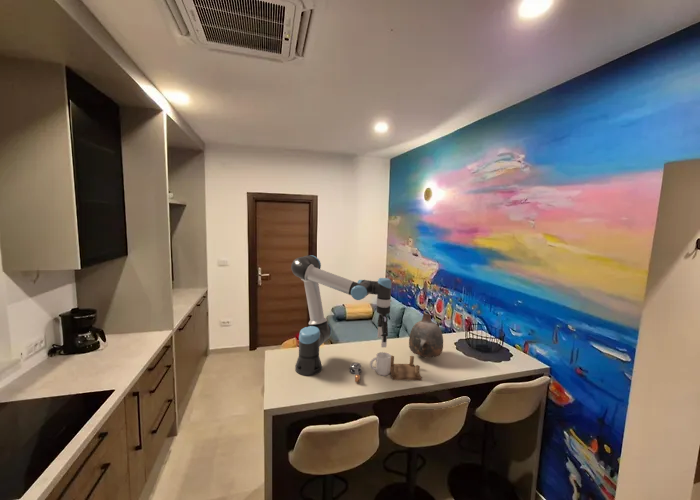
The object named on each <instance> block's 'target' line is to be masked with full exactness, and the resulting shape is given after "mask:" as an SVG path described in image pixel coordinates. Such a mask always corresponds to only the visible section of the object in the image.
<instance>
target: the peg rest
mask: <svg viewBox="0 0 700 500" xmlns="http://www.w3.org/2000/svg"><path fill="white" fill-rule="evenodd" d="M390 355H391V354H390ZM414 361H415V356H414V355H410V356H409V363H395V355H393V354H392V355H391V367H390V374H389V375H390V377H391V378H392V381H422V376H421V374H420V372H421V371H420V369H421V366H420V365H418V364H417V365H415V364H414Z"/></svg>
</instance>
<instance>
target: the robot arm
mask: <svg viewBox="0 0 700 500" xmlns="http://www.w3.org/2000/svg"><path fill="white" fill-rule="evenodd" d="M321 268H322V263H321V260H320V258H318V257H317V256H315V255H304V256H300V257H297V258H294V260H293V261H292V263H291V267H290V270H291V271H292V274H293V275H294V276H295V277H297V278H299V279H300V280H301V281H302V282H303V284H304V285H303V286H304V290H305V295H306V303H307V308H308V314H309V321H308V326H305V327H303V328H301V329H300V330H299V335H298V357H297V360H296V363H295V367H294V370H295V372H296V373H297V374H299V375H302V376H314V375H317V374H319V373H320V372H321V371H322V367H323V365H322V364H323V363H322V361H321V358H320V347H321V346H322V345H324V343H326V342H327V341H328V340H329V339H330V338H331V335H332V333H333V332H332V331H333V329H332V326H331V324H330V323H329V322H328V318H326V317H325V314H324V308H323V303H322V298H321V297H322V296H321V290H320V285H322V286H325V287H328V288H330V289H333V290H336V291H339V292H341V293H344V294H347V295H349V296H351V297H352V299H354V300H356V301H361V300H364V299H365V298H366V297H367V296H368V295H377V296H376V313H377V314H378V318H377V339H381V342H380V343H381V346H380V347H381V348H387V342H388V336H389V329H388V325H389V324H388V316H387V315H389V314H390V313H391V302H392V299H391V297H392V280H391V279H390V278H387V277H380V278H379V277H378V279H377V280H368V279H359V280H357V282H356V281H353V280H351V279H348V278H345V277H343V276H340V275H337V274H334V273H332V272H329V271H326V270H323V269H321ZM319 284H320V285H319Z"/></svg>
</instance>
